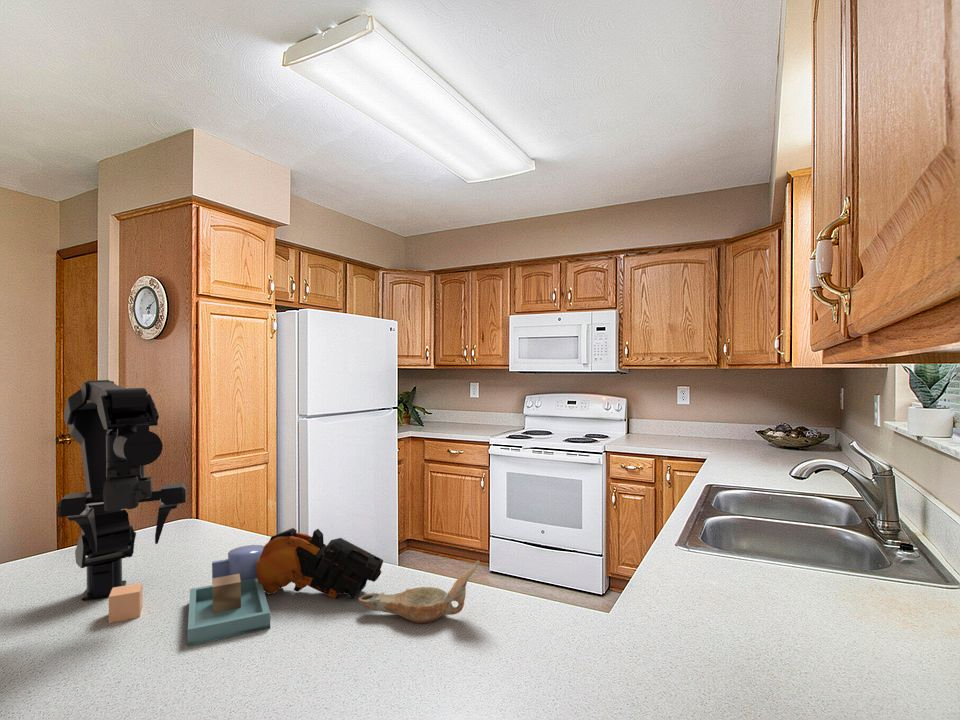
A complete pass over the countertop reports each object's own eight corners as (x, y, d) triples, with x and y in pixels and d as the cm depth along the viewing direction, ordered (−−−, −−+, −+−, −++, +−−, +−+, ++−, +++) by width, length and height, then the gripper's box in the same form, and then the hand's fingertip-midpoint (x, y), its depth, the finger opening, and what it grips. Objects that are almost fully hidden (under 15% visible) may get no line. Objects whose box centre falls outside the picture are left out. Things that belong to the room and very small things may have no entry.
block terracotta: (112, 613, 97) (112, 587, 97) (142, 607, 99) (142, 582, 100) (108, 623, 93) (108, 596, 93) (139, 617, 95) (139, 591, 95)
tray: (190, 602, 101) (190, 588, 101) (260, 589, 106) (260, 576, 106) (187, 646, 85) (187, 629, 85) (270, 628, 90) (270, 612, 90)
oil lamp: (476, 632, 88) (475, 569, 88) (349, 625, 91) (348, 564, 91) (484, 608, 96) (483, 551, 96) (368, 603, 99) (367, 547, 100)
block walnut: (239, 598, 101) (239, 573, 101) (241, 607, 97) (240, 582, 97) (212, 603, 99) (212, 578, 99) (212, 612, 95) (212, 586, 95)
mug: (212, 586, 108) (211, 550, 109) (265, 576, 113) (264, 542, 113) (212, 599, 102) (212, 561, 102) (268, 588, 107) (268, 552, 107)
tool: (347, 644, 99) (376, 568, 97) (240, 589, 102) (267, 515, 101) (364, 622, 107) (391, 552, 105) (265, 572, 110) (290, 504, 109)
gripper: (48, 472, 85) (49, 572, 85) (184, 461, 94) (185, 552, 94) (64, 461, 95) (64, 551, 95) (185, 452, 104) (186, 534, 104)
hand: (126, 547), depth 97 cm, fingers open, 9 cm apart
